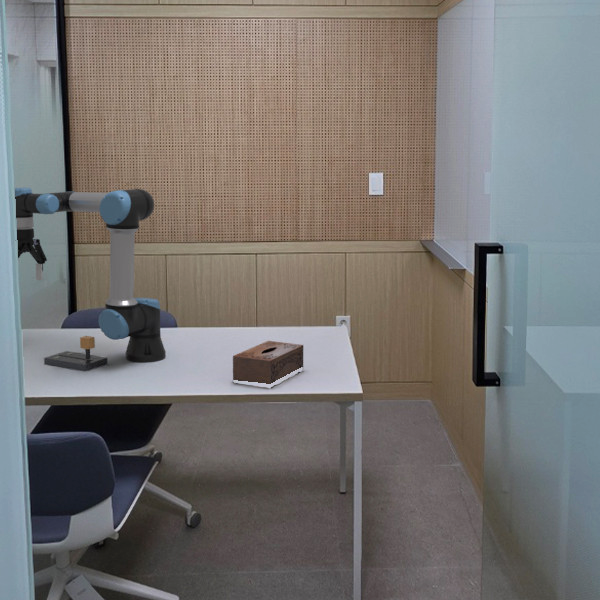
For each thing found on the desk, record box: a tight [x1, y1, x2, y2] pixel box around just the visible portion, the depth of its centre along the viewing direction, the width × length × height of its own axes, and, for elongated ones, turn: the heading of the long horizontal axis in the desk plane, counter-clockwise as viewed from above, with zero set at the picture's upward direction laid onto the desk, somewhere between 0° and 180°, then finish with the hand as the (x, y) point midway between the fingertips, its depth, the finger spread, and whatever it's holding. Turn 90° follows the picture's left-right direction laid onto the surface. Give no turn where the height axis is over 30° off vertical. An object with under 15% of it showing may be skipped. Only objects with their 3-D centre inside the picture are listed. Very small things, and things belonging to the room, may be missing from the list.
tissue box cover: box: [232, 340, 304, 384], centre depth 318 cm, size 26×14×10 cm, turn 154°
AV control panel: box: [43, 350, 108, 372], centre depth 334 cm, size 20×12×3 cm, turn 61°
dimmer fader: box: [79, 335, 96, 359], centre depth 330 cm, size 4×3×8 cm
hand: (26, 282), depth 350 cm, fingers open, 13 cm apart
